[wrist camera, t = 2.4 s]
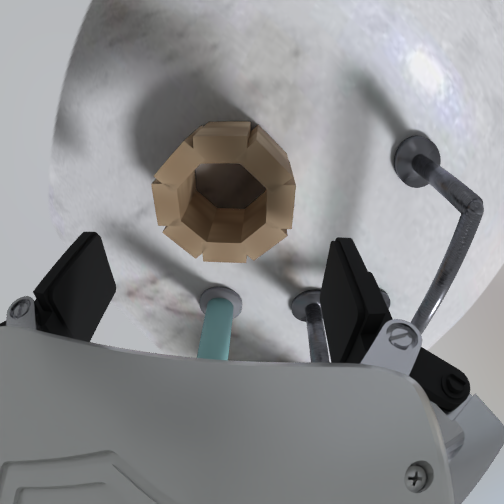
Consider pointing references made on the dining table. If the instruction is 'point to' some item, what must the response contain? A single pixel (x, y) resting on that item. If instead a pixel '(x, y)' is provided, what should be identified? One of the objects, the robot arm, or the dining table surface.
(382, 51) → the dining table surface
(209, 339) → the peg
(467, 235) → the corner grab bar
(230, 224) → the ring
